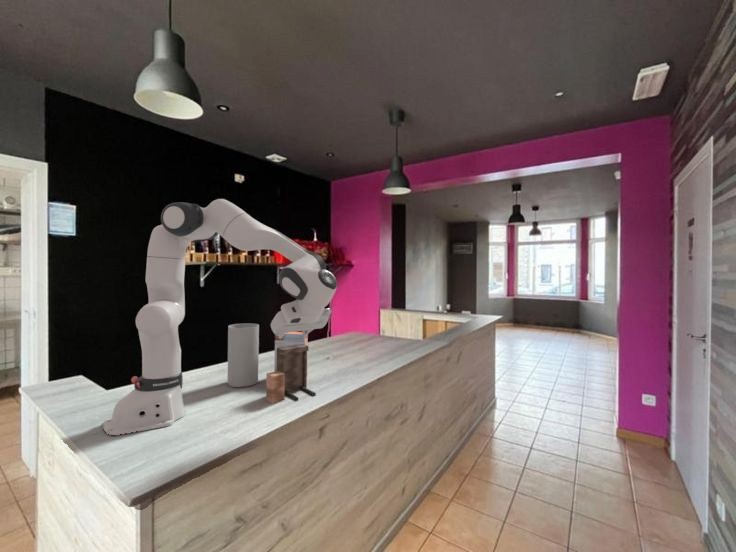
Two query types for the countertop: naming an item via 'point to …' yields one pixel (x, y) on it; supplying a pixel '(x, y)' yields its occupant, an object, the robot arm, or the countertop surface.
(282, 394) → the block
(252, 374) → the cylinder vase
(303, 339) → the cracker box
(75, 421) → the countertop surface
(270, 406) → the countertop surface
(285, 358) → the cubby
